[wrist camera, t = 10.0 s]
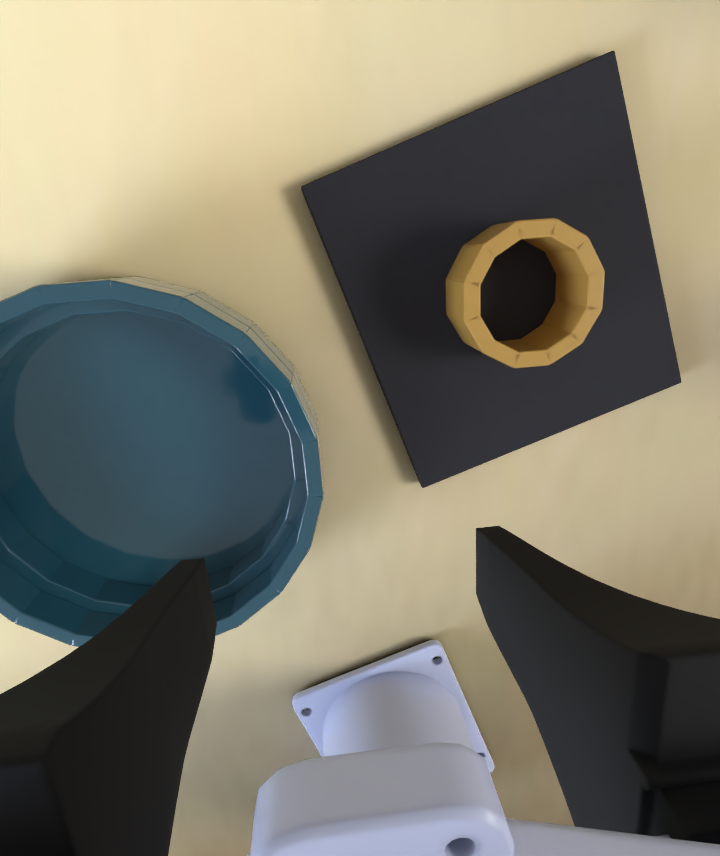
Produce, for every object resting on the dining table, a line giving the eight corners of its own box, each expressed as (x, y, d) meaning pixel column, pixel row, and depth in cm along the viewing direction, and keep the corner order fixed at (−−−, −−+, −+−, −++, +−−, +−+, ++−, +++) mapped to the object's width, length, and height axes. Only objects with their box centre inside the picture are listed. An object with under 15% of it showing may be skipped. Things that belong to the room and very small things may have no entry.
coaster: (673, 379, 23) (682, 382, 23) (419, 483, 24) (422, 488, 23) (605, 55, 19) (615, 49, 18) (300, 188, 20) (300, 186, 19)
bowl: (369, 527, 24) (378, 570, 21) (88, 642, 25) (53, 701, 21) (227, 217, 20) (210, 209, 16) (-113, 365, 20) (-196, 386, 17)
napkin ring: (590, 308, 21) (627, 314, 19) (485, 378, 22) (507, 393, 19) (533, 195, 20) (564, 186, 17) (421, 274, 20) (436, 276, 18)
